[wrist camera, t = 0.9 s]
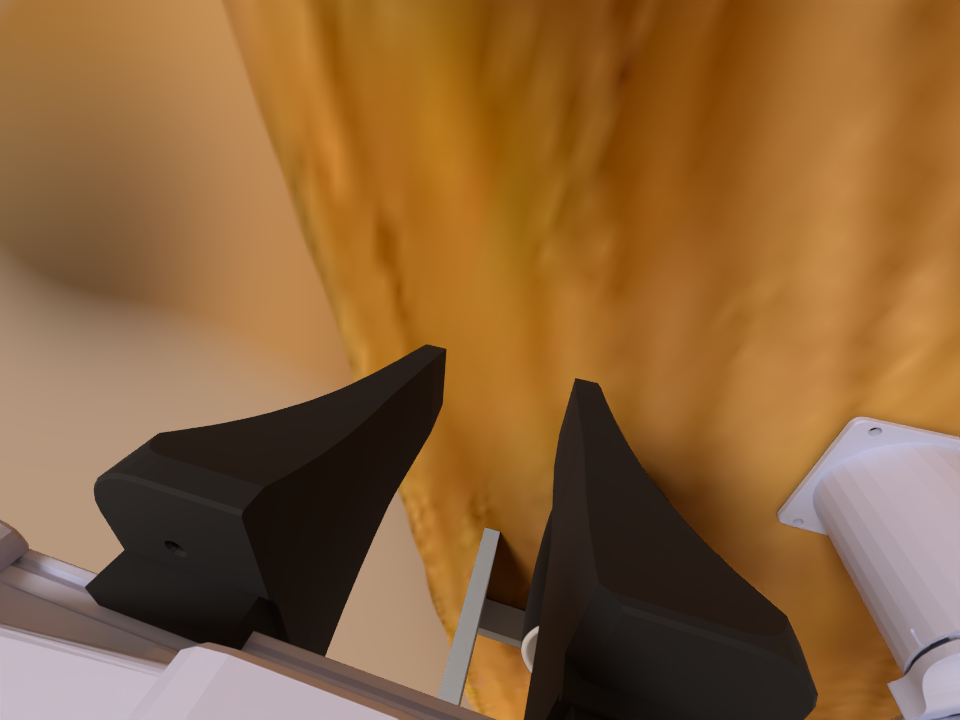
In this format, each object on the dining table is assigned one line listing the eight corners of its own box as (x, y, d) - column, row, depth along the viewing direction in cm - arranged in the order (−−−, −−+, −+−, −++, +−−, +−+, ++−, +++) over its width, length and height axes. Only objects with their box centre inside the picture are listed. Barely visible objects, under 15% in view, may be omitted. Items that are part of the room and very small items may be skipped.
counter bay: (691, 587, 29) (743, 862, 19) (641, 656, 35) (659, 893, 25) (485, 527, 32) (425, 740, 21) (471, 601, 38) (420, 796, 27)
